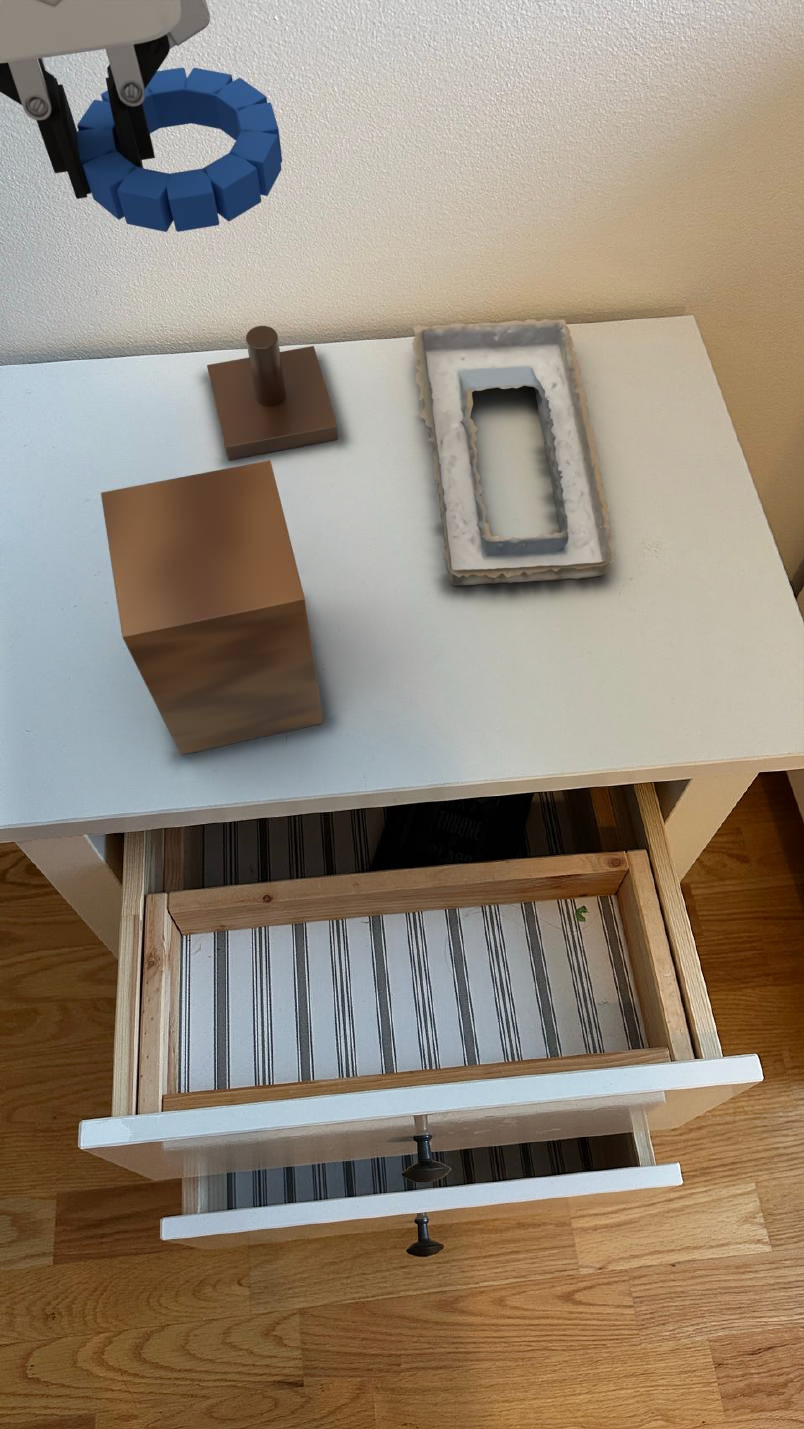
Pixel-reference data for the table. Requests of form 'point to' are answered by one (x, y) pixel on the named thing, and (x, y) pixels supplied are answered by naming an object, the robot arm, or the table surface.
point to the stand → (214, 605)
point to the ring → (191, 192)
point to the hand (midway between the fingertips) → (108, 173)
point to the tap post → (271, 398)
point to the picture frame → (548, 364)
